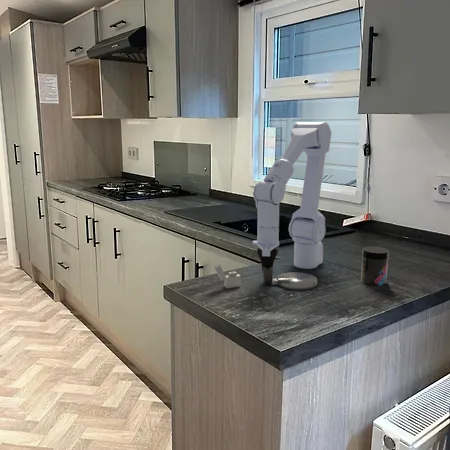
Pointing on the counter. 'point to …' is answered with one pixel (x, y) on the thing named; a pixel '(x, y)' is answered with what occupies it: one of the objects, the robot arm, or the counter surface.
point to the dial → (289, 279)
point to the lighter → (228, 277)
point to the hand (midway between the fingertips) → (267, 274)
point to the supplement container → (374, 266)
